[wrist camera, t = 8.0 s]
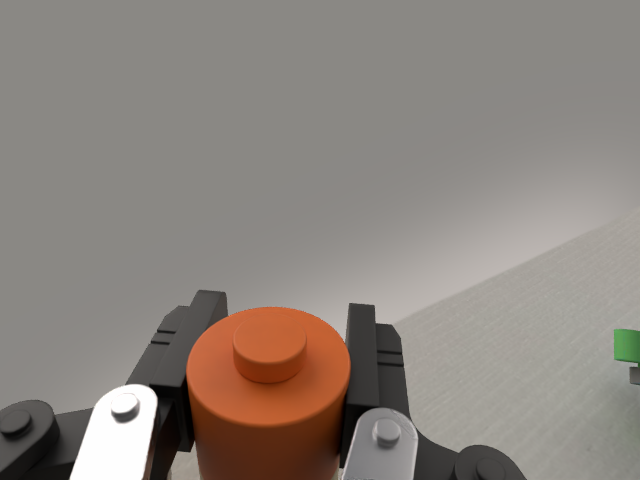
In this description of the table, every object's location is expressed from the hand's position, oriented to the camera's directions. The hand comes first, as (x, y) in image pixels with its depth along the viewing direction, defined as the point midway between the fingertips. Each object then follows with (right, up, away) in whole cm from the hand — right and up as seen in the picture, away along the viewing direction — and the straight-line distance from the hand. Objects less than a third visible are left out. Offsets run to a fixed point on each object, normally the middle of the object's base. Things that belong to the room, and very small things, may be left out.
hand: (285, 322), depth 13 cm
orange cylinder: (-1, -8, +1) cm, 8 cm away
